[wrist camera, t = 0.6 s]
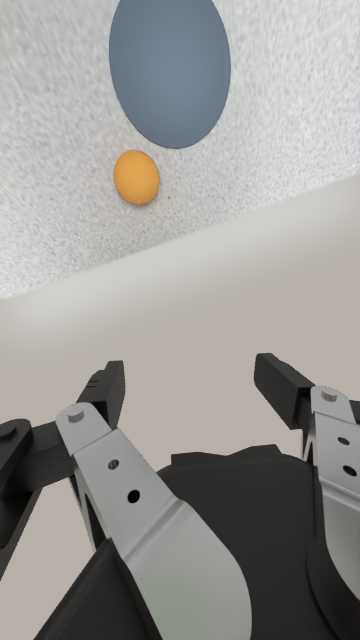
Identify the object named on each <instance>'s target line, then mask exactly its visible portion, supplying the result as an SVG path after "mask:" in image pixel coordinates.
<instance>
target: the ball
mask: <svg viewBox="0 0 360 640" xmlns="http://www.w3.org/2000/svg"><path fill="white" fill-rule="evenodd" d="M114 180H115V184H116V187H117V189H118V191H119V193H120V194H121V195H122V196H123V197H124V198H125V199H126V200H127V201H129V202H130V203H133V204H136V205H143V204H146V203H148V202H150V201H151V200H152V199H153V198H154V197H155V196H156V194H157V192H158V189H159V184H160V178H159V172H158V169H157V167H156V165H155V163H154V161H153V160H152V159H151V158H150V157H149V156H148V155H147V154H145V153H144V152H141V151H138V150H130V151H127V152H125V153H123V154H122V155H121V156H120V157H119V159H118V160H117V162H116V165H115V169H114Z"/></svg>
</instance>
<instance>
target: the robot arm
mask: <svg viewBox="0 0 360 640" xmlns="http://www.w3.org/2000/svg"><path fill="white" fill-rule="evenodd" d="M124 377H125V376H124V365H123V361H121V360H120V361H109V362H108V363H107V366H106V368H105V369H104V370H99V371H97V372H96V373H95V374H93V375H92V377H91V378H90V380H89V382H88V383H87V385H86V387H85V388H84V390H83V392H82V393H81V395H80V397H79V398H78V400H77V402H76V403H75V404H73V405H70V406H68V407H67V408H65V409H63V410H62V411H61V412H60V413H59V414H58V415H57V417H56V420H55V421H53V422H50V423H47V424H43V425H40V426H36V427H33V428H32V427H31V424H30V421H29V420H27V419H15V420H11V421H8V422H5V423H3V424H1V425H0V581H1V578H2V576H3V574H4V572H5V570H6V567H7V565H8V563H9V561H10V559H11V557H12V554H13V552H14V550H15V548H16V546H17V543H18V541H19V539H20V537H21V535H22V532H23V530H24V528H25V526H26V524H27V522H28V519H29V517H30V515H31V513H32V511H33V508H34V506H35V504H36V502H37V500H38V497H39V495H40V493H41V491H42V489H43V487H45V486H47V485H50V484H52V483H54V482H57V481H60V480H62V479H65V478H67V477H68V480H69V483H70V485H71V488H72V490H73V493H74V496H75V498H76V501H77V504H78V506H79V509H80V511H81V514H82V517H83V519H84V522H85V526H86V530H87V533H88V536H89V540H90V542H91V546H92V548H93V551H94V555H93V556H92V558H91V559H90V560H89V562H88V563H87V565H86V566H85V568H84V569H83V570H82V572H81V573H80V575H79V576H78V577H77V579H76V580H75V582H74V583H73V584H72V586H71V587H70V589H69V590H68V591H67V593H66V594H65V596H64V597H63V599H62V600H61V602H60V603H59V604H58V606H57V607H56V609H55V610H54V611H53V613H52V614H51V616H50V617H49V619H48V620H47V621H46V623H45V624H44V625H43V627H42V628H41V630H40V631H39V632H38V634H37V635H36V637H35V638H34V640H360V401H353V400H348V398H347V397H346V396H345V395H344V394H343V393H341V392H340V391H338V390H335V389H333V388H330V387H326V386H316V385H315V384H313V383H312V382H311V381H309V380H308V379H307V378H306V377H304V376H303V375H302V374H300V373H299V372H298V371H297V370H295V369H294V368H293V367H292V366H290V365H289V364H287V363H285V362H283V361H280V360H279V359H278V358H277V357H275V356H274V355H273V354H272V353H261V354H257V356H256V362H255V371H254V382H255V385H256V387H257V388H258V390H259V391H260V392H261V393H262V395H263V396H264V397H265V398H266V400H267V401H268V402H269V404H271V406H272V407H273V409H274V410H275V411H276V412H277V413H278V415H279V416H280V417H281V419H282V420H283V421H284V422H285V424H286V425H287V426H288V427H289V429H290V430H294V429H302V436H301V459H299V458H297V457H294V456H290V455H286V454H282V453H281V452H280V450H279V449H278V447H277V446H276V444H272V445H261V446H251V447H248V448H246V449H243V450H241V451H238V452H236V453H233V454H231V455H228V456H224V455H217V454H210V453H203V452H192V453H181V454H172V455H171V465H169V466H166V467H164V468H162V469H161V470H159V471H158V472H155V471H154V470H153V469H152V467H151V466H150V465H149V464H148V462H147V461H146V460H145V459H144V458H143V456H142V455H141V454H140V453H139V451H138V450H137V449H136V448H135V446H134V445H133V444H132V443H131V442H130V440H129V439H128V438H127V437H126V436H125V434H124V433H123V432H122V431H121V429H119V428H117V424H118V420H119V416H120V412H121V408H122V404H123V400H124V396H125V378H124Z"/></svg>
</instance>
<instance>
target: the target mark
mask: <svg viewBox="0 0 360 640" xmlns="http://www.w3.org/2000/svg"><path fill="white" fill-rule="evenodd" d="M109 61H110V69H111V75H112V80H113V84H114V88H115V91H116V94H117V97H118V99H119V102H120V104H121V106H122V108H123V110H124V112H125V114H126V116H127V117H128V118H129V120H130V121H131V123H132V124H133V125H134V126H135V128H136V129H137V130H138V131H139V132H140V133H141V134H142V135H143V136H144V137H146V138H147V139H149V140H150V141H152V142H153V143H155V144H157V145H160V146H163V147H166V148H177V149H179V148H185V147H188V146H191V145H193V144H195V143H197V142H199V141H200V140H201V139H203V138H204V137H205V136H206V135H207V134H208V133H209V132H210V131H211V130H212V128H213V127H214V126H215V124H216V122H217V121H218V119H219V117H220V115H221V113H222V111H223V109H224V106H225V103H226V100H227V95H228V91H229V84H230V73H231V63H230V51H229V44H228V40H227V35H226V32H225V28H224V25H223V22H222V20H221V18H220V15H219V13H218V11H217V9H216V7H215V6H214V4H213V2H212V1H211V0H120V2H119V4H118V7H117V9H116V12H115V15H114V18H113V22H112V26H111V32H110V41H109Z"/></svg>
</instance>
